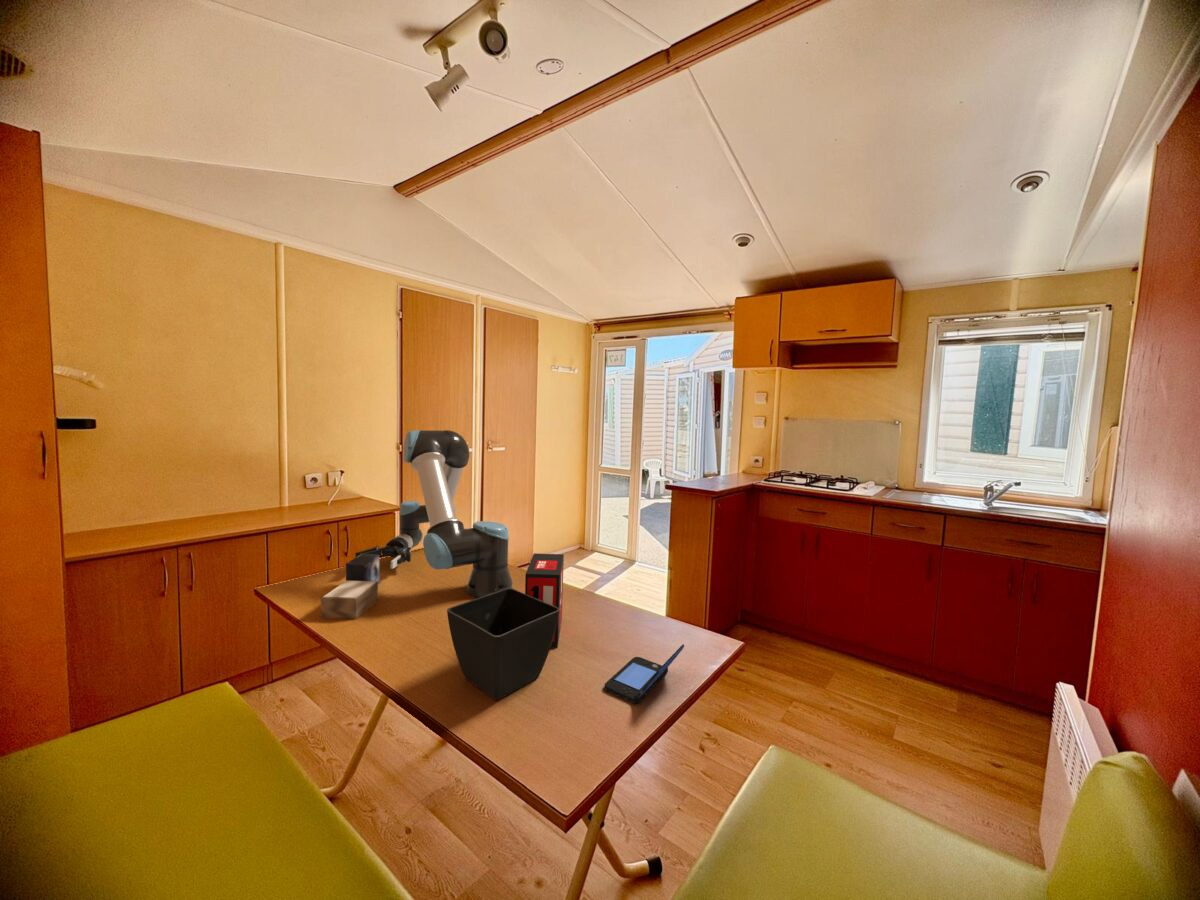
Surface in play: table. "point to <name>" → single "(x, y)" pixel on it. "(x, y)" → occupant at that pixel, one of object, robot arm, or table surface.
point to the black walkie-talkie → (638, 678)
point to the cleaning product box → (547, 583)
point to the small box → (363, 568)
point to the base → (349, 599)
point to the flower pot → (502, 639)
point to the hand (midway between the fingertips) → (372, 564)
